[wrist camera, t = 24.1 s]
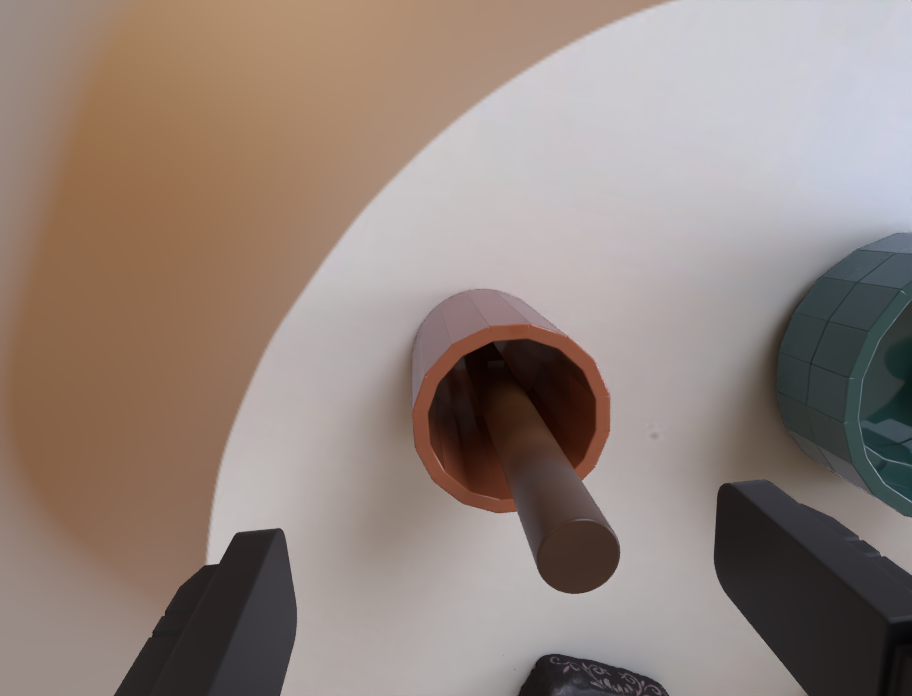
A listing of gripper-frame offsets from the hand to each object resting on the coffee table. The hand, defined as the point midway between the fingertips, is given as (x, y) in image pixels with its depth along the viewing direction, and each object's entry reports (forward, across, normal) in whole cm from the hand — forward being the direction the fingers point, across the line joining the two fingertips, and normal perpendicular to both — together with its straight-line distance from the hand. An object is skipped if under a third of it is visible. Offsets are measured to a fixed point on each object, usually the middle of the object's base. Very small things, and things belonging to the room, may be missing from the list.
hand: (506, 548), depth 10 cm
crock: (+21, -2, +2) cm, 21 cm away
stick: (+20, -2, +2) cm, 20 cm away
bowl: (+21, -26, +4) cm, 33 cm away
